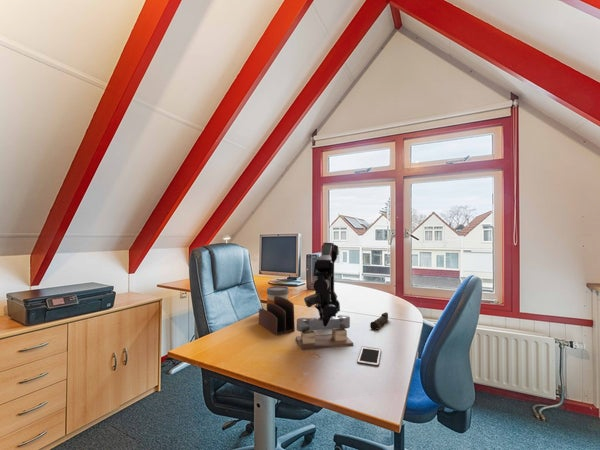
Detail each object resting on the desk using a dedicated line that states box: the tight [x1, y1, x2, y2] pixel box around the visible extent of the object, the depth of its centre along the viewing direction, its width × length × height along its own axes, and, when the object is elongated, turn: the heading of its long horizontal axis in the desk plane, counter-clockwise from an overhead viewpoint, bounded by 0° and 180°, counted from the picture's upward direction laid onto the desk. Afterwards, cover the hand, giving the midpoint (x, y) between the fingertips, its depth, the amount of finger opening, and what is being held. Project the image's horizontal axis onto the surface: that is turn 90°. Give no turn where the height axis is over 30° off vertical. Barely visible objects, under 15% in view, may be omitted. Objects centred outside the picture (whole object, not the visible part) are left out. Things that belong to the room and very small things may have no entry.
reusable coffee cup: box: [266, 285, 290, 304], centre depth 162 cm, size 13×13×15 cm
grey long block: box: [296, 314, 351, 333], centre depth 123 cm, size 24×6×4 cm, turn 102°
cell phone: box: [356, 346, 382, 368], centre depth 109 cm, size 8×15×1 cm, turn 161°
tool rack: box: [295, 328, 354, 351], centre depth 122 cm, size 12×22×5 cm, turn 102°
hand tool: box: [369, 311, 389, 331], centre depth 145 cm, size 19×4×5 cm, turn 141°
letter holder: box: [258, 296, 296, 336], centre depth 141 cm, size 10×20×14 cm, turn 33°
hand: (323, 324), depth 123 cm, fingers closed on grey long block, 3 cm apart
